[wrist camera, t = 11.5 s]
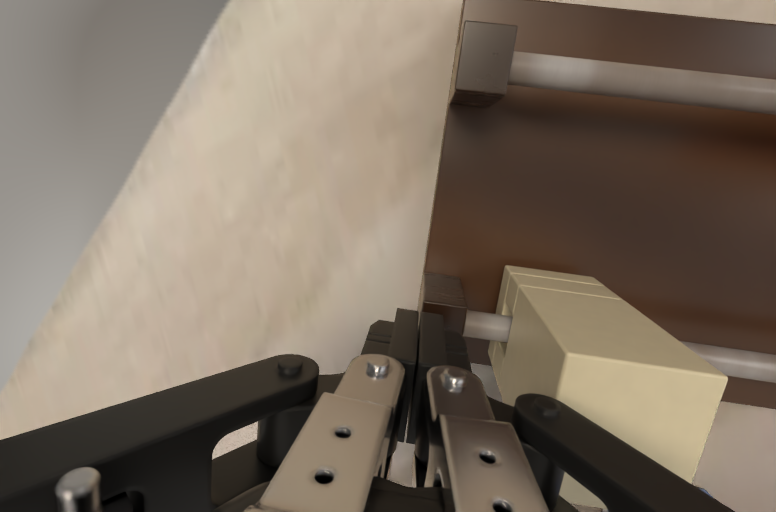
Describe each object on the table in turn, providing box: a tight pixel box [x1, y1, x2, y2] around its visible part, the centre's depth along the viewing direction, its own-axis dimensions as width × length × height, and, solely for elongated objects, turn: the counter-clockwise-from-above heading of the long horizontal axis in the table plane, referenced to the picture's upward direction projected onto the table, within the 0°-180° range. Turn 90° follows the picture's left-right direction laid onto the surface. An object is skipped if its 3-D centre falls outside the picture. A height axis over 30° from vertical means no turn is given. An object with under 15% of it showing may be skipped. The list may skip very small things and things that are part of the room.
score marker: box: [488, 265, 728, 510], centre depth 14 cm, size 4×4×8 cm
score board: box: [417, 0, 776, 409], centre depth 16 cm, size 15×20×5 cm
